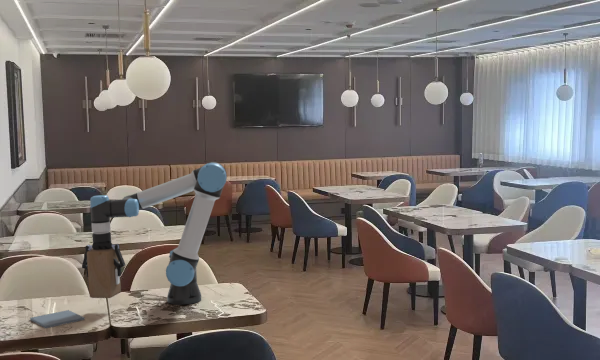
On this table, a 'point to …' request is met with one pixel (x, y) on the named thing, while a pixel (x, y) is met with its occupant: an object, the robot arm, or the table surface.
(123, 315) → the table surface
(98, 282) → the wooden block
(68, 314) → the slate plate
